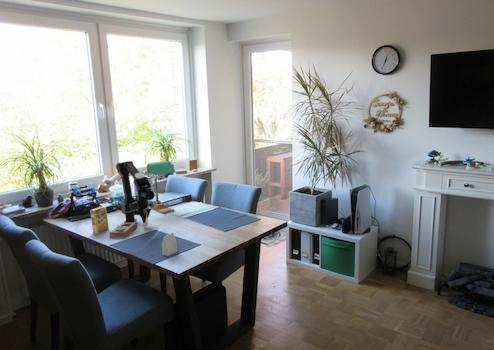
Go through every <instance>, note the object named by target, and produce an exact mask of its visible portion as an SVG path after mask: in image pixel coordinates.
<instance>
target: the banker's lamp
mask: <svg viewBox="0 0 494 350" xmlns="http://www.w3.org/2000/svg"><path fill="white" fill-rule="evenodd" d="M146 173H147V174H146V177H148V178H151V179H152V178H154V182H153V183H154V194H155V200H154V202H152V203H153V204H154V207H151V206H150V209H151V210H153V211H155V212H158V213H161V214H163V215H164V214H170V213H173V212H175V208H171V207H169V206H167V205H166V204H165V203H162V201H161V200H160V199H159V193H158V192H159V191H158V178H160V177H163V176H166V175H167V174H174V173H176V170H175V168H174V165H173V164H172V162H171V161H169V160H161V161H154V162H148V163H147V164H146ZM149 174H150V175H149ZM151 175H154V176H151ZM155 176H156V177H155Z"/></svg>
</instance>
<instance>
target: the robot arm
mask: <svg viewBox="0 0 494 350" xmlns="http://www.w3.org/2000/svg"><path fill="white" fill-rule="evenodd" d="M115 168H116V170H117V173H118V174H119V175H120V177H121V184H122V190H123V195H124V200H123V202H122V204H123V205H122V207H121V209H120V210H121V213H122V214H123V215H124V216H125V220H124V222H123V223H135V222H136V221H137V220H138V219H137V218H136V217H135V216H139V217H140V218H141V221H142V224H143V223H145V221H146V217H147V219H148V220H149V216H150V214H151V211H152V209H151V207H154V204H153V203H154V202H152V200H154V198H155V197H156V194H155V191H153V190H152V189H151V188H152V186H151V185H152V184H151V183H150V181H149V178H147V177H148V176H147V175H145V174H143V173H141V172H140V171H139V170H138V169H137V166H135V165H134V161H133V160H126V161H120V162H119V161H118V162H117V163H116V165H115ZM129 175H130V176H131V177H132V178H133V184H134V186H135V190H137V191H136V192H137V199H135V198H134V196H133V193H132V192H133V191H132V186H131V182H130V181H131V179H130V176H129ZM146 211H147V212H146Z"/></svg>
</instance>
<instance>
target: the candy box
mask: <svg viewBox="0 0 494 350" xmlns="http://www.w3.org/2000/svg"><path fill="white" fill-rule="evenodd" d="M89 212H90V219H91V229H92V233H94V234H100V233H102V232H105V231H107V230H109V227H110V226H109V221H108V212H107V207H106V206H104V205H103V206H101V205H100V206H98V207H95V208H92V209H90V211H89Z"/></svg>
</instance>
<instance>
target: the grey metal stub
mask: <svg viewBox="0 0 494 350" xmlns="http://www.w3.org/2000/svg"><path fill="white" fill-rule="evenodd" d="M116 227H117V228H118V231H123V225H122V223H119V224H117V225H116Z"/></svg>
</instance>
